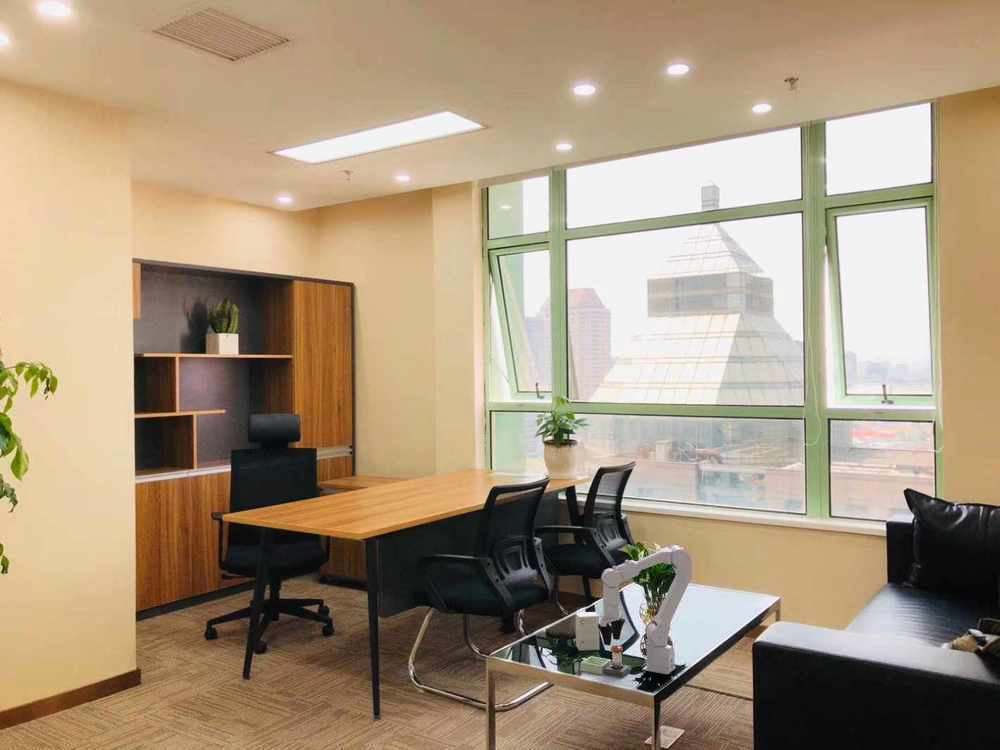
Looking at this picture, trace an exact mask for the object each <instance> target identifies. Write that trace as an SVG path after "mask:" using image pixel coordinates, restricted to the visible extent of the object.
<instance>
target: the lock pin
mask: <svg viewBox="0 0 1000 750" xmlns="http://www.w3.org/2000/svg"><path fill="white" fill-rule="evenodd" d="M610 647H611V648H610V650H611V651H612V659H611V663H613V669H618V670H621V669H622V665H623V661H622V660H623V659H622V652H623V646H622V645H610Z"/></svg>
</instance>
